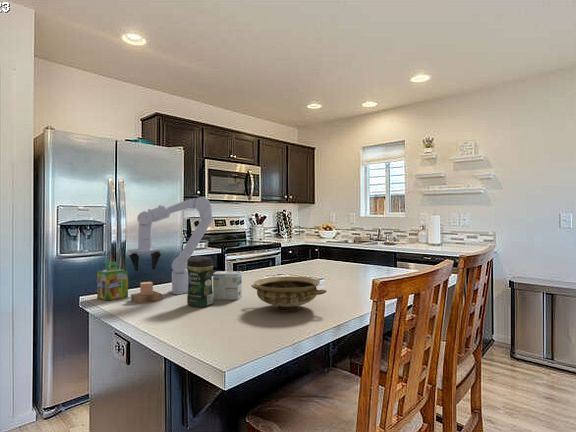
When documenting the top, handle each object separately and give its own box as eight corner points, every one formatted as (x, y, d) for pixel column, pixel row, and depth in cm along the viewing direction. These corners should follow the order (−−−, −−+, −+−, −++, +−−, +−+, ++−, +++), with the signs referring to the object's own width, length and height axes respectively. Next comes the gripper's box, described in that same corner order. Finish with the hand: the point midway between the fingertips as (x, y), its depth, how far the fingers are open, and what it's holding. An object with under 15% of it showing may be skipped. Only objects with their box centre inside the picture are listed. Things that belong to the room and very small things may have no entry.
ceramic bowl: (338, 305, 135) (337, 279, 135) (310, 323, 114) (310, 291, 114) (269, 297, 150) (268, 273, 150) (233, 311, 129) (233, 283, 129)
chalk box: (107, 301, 146) (106, 264, 146) (96, 298, 152) (95, 263, 152) (129, 297, 154) (128, 262, 154) (117, 294, 159) (117, 260, 159)
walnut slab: (152, 297, 154) (152, 290, 154) (162, 301, 148) (162, 293, 147) (131, 301, 148) (131, 294, 148) (139, 305, 141) (139, 297, 141)
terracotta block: (151, 292, 150) (151, 281, 150) (152, 294, 147) (152, 283, 147) (140, 293, 148) (140, 282, 148) (141, 295, 145) (141, 284, 145)
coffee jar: (183, 305, 138) (182, 256, 138) (198, 301, 145) (198, 254, 145) (201, 308, 133) (201, 258, 133) (217, 304, 140) (216, 255, 140)
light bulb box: (242, 296, 153) (242, 270, 153) (238, 300, 146) (238, 273, 146) (217, 296, 154) (217, 270, 154) (212, 299, 147) (212, 273, 147)
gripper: (157, 238, 168) (157, 267, 168) (124, 239, 157) (124, 270, 157) (164, 238, 162) (164, 269, 162) (131, 240, 152) (130, 272, 152)
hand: (145, 270), depth 160 cm, fingers open, 7 cm apart
